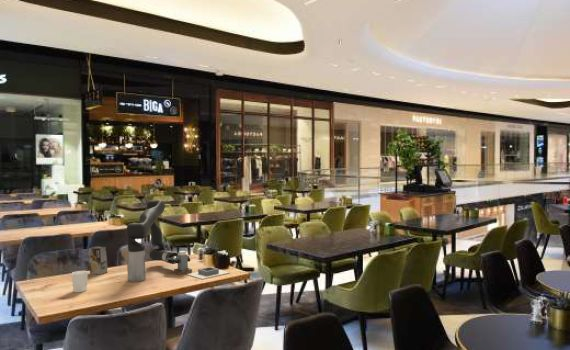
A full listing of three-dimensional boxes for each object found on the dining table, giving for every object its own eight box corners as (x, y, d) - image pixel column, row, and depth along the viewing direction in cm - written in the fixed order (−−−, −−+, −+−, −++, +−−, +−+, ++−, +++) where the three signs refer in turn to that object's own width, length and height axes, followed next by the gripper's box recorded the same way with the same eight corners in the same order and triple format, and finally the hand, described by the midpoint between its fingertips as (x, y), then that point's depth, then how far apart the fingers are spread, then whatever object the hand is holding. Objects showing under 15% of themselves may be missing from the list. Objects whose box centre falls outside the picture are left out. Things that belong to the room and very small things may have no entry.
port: (202, 279, 272) (202, 274, 271) (187, 275, 283) (187, 270, 283) (229, 273, 285) (229, 268, 285) (214, 269, 297) (214, 264, 297)
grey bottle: (181, 273, 287) (181, 252, 287) (177, 272, 290) (177, 251, 290) (188, 272, 290) (187, 251, 290) (184, 271, 293) (183, 250, 293)
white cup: (83, 288, 258) (82, 269, 258) (90, 290, 253) (90, 271, 253) (69, 291, 252) (68, 272, 252) (76, 293, 247) (75, 274, 247)
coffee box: (108, 272, 296) (107, 246, 295) (101, 274, 290) (100, 248, 289) (95, 271, 298) (95, 246, 298) (89, 273, 292) (88, 248, 292)
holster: (180, 274, 285) (180, 271, 284) (173, 272, 290) (173, 269, 290) (191, 272, 290) (191, 269, 290) (184, 270, 296) (184, 267, 296)
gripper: (160, 253, 295) (174, 256, 283) (180, 249, 305) (194, 253, 293) (160, 265, 295) (174, 268, 283) (180, 261, 305) (194, 264, 293)
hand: (184, 260), depth 288 cm, fingers open, 7 cm apart
